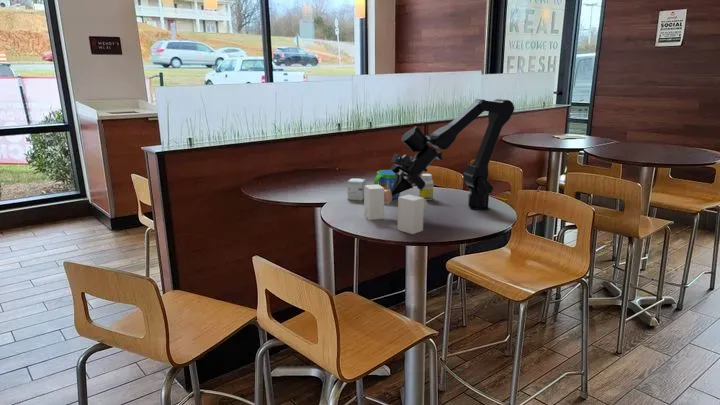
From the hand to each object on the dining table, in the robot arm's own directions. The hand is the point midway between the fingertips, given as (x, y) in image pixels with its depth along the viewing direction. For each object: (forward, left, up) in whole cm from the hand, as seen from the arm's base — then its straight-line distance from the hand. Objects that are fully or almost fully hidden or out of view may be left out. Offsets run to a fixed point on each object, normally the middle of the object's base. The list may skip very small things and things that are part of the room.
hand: (390, 194), depth 166 cm
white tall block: (+6, +2, -7) cm, 9 cm away
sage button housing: (-6, +16, -7) cm, 19 cm away
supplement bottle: (-14, -24, -7) cm, 28 cm away
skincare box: (+13, -24, -7) cm, 28 cm away
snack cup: (0, -26, -7) cm, 27 cm away
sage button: (-8, +14, -2) cm, 16 cm away
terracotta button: (+3, +1, -2) cm, 4 cm away
